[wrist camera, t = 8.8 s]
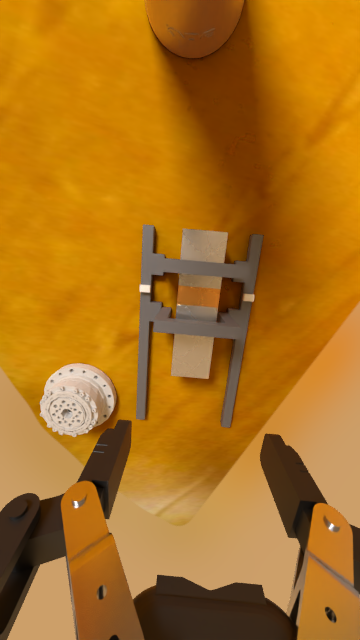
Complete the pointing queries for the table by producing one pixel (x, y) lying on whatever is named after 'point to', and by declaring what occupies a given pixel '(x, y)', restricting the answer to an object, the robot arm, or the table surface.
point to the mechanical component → (77, 399)
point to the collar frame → (225, 327)
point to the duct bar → (197, 302)
